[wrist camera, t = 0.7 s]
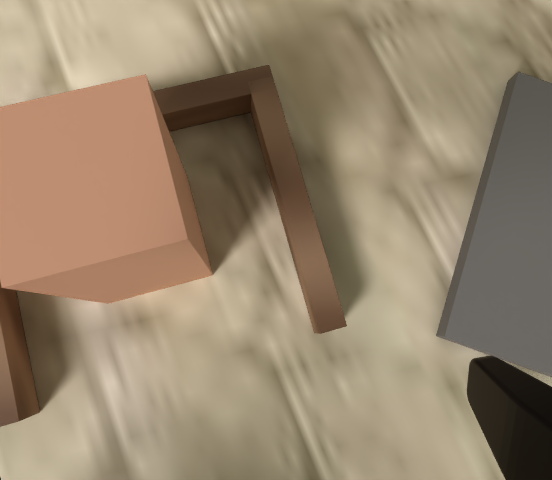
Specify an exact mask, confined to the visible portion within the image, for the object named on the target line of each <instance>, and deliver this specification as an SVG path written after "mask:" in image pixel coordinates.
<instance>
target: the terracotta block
mask: <svg viewBox="0 0 552 480" xmlns="http://www.w3.org/2000/svg"><path fill="white" fill-rule="evenodd" d="M212 275H213V273H212V269H211V266H210V262H209V258H208V254H207V250H206V246H205V243H204V239H203V235H202V231H201V227H200V223H199V220H198V216H197V212H196V208H195V204H194V200H193V197H192V193H191V189H190V185H189V181H188V177H187V175H186V172H185V170H184V167H183V165H182V162H181V160H180V158H179V155H178V153H177V150H176V148H175V145H174V143H173V140H172V138H171V135H170V133H169V130H168V128H167V125H166V123H165V121H164V118H163V116H162V113H161V111H160V108H159V106H158V103H157V101H156V98H155V96H154V93H153V91H152V88H151V86H150V84H149V81H148V79H147V76H146V74H145V75H141V76H136V77H132V78H127V79H123V80H119V81H114V82H110V83H105V84H101V85H96V86H92V87H87V88H83V89H78V90H74V91H70V92H65V93H61V94H56V95H52V96H47V97H43V98H38V99H34V100H29V101H25V102H21V103H16V104H12V105H7V106H3V107H0V282H1V287H2V288H6V289H13V290H20V291H27V292H34V293H40V294H47V295H54V296H61V297H68V298H74V299H81V300H88V301H95V302H102V303H112V302H116V301H119V300H123V299H127V298H130V297H134V296H138V295H141V294H145V293H149V292H153V291H156V290H160V289H164V288H167V287H171V286H175V285H178V284H182V283H186V282H189V281H193V280H197V279H201V278H204V277H208V276H212Z"/></svg>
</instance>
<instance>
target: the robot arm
mask: <svg viewBox="0 0 552 480" xmlns="http://www.w3.org/2000/svg"><path fill="white" fill-rule="evenodd" d="M467 397H468V401H469V403H470V406H471V408H472V410H473V412H474V414H475V416H476V418H477V421H478V423H479V425H480V427H481V429H482V431H483V433H484V436H485V438H486V440H487V442H488V444H489V446H490V448H491V450H492V453H493V455H494V457H495V459H496V461H497V463H498V465H499V467H500V469H501V471H502V473H503V475H504V477H505V479H506V480H552V387H551V386H549V385H547V384H545V383H544V382H542V381H540V380H538V379H536V378H534V377H532V376H530V375H529V374H527V373H525V372H523V371H521V370H519V369H517V368H516V367H514V366H512V365H510V364H508V363H506V362H504V361H502V360H501V359H499V358H497V357H494V356H485V357H479V358H474V359H472V360H471V362H470V365H469V373H468V383H467ZM0 480H1V478H0Z"/></svg>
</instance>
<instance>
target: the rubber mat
mask: <svg viewBox="0 0 552 480" xmlns="http://www.w3.org/2000/svg"><path fill="white" fill-rule="evenodd" d="M436 336H438V337H441V338H443V339H446V340H449V341H452V342H455V343H458V344H460V345H463V346H466V347H469V348H472V349H474V350H477V351H480V352H483V353H486V354H488V355H491V356H494V357H497V358H500V359H502V360H505V361H508V362H511V363H514V364H516V365H519V366H522V367H525V368H528V369H531V370H533V371H536V372H539V373H542V374H545V375H547V376H550V377H552V83H549V82H546V81H543V80H541V79H538V78H535V77H532V76H529V75H526V74H524V73H521V72H518V73H516V74H515V75H514V76H513V77H512V78H511V79H510V80H509V81H508V83H507V87H506V90H505V94H504V97H503V101H502V105H501V108H500V112H499V115H498V119H497V122H496V126H495V129H494V133H493V136H492V140H491V144H490V147H489V151H488V154H487V158H486V161H485V165H484V168H483V172H482V175H481V179H480V183H479V186H478V190H477V193H476V197H475V200H474V204H473V207H472V211H471V214H470V218H469V222H468V225H467V229H466V232H465V236H464V239H463V243H462V246H461V250H460V253H459V257H458V261H457V264H456V268H455V271H454V275H453V278H452V282H451V285H450V289H449V292H448V296H447V299H446V303H445V307H444V310H443V314H442V317H441V321H440V324H439V328H438V331H437V335H436Z"/></svg>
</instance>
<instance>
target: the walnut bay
mask: <svg viewBox="0 0 552 480" xmlns="http://www.w3.org/2000/svg"><path fill="white" fill-rule="evenodd" d="M153 93H154V96H155V98H156V101H157V103H158V106H159V108H160V111H161V113H162V116H163V118H164V121H165V123H166V125H167V128H168V130H169V131H173V130H177V129H182V128H186V127H190V126H194V125H198V124H203V123H207V122H211V121H215V120H219V119H224V118H228V117H232V116H236V115H240V114H245V113H249V112H251V114H252V118H253V121H254V125H255V128H256V132H257V135H258V139H259V142H260V146H261V149H262V153H263V156H264V159H265V163H266V166H267V170H268V173H269V177H270V180H271V184H272V187H273V191H274V194H275V198H276V201H277V205H278V208H279V212H280V215H281V219H282V222H283V226H284V229H285V233H286V236H287V240H288V243H289V247H290V250H291V253H292V257H293V260H294V264H295V267H296V271H297V274H298V278H299V281H300V285H301V288H302V292H303V295H304V299H305V302H306V306H307V309H308V313H309V316H310V320H311V323H312V327H313V330H314V333H319V334H321V333H325V332H328V331H332V330H335V329H338V328H342V327H345V326H347V325H346V321H345V318H344V314H343V311H342V308H341V304H340V301H339V298H338V294H337V291H336V288H335V284H334V281H333V278H332V274H331V271H330V267H329V264H328V261H327V257H326V254H325V251H324V247H323V244H322V241H321V237H320V234H319V231H318V227H317V224H316V220H315V217H314V214H313V210H312V207H311V204H310V200H309V197H308V194H307V190H306V187H305V184H304V180H303V177H302V174H301V170H300V167H299V163H298V160H297V157H296V153H295V150H294V147H293V143H292V140H291V137H290V133H289V130H288V127H287V123H286V120H285V116H284V113H283V110H282V106H281V103H280V100H279V96H278V93H277V90H276V86H275V83H274V80H273V76H272V73H271V69H270V66H269V65H266V66H261V67H257V68H253V69H248V70H244V71H240V72H235V73H231V74H226V75H222V76H218V77H213V78H209V79H205V80H200V81H196V82H192V83H187V84H183V85H178V86H174V87H170V88H165V89H161V90H157V91H153ZM39 412H40V410H39V405H38V400H37V395H36V390H35V385H34V380H33V375H32V370H31V365H30V360H29V355H28V349H27V344H26V339H25V334H24V329H23V324H22V319H21V314H20V309H19V304H18V299H17V294H16V290H13V289H6V288H2V287H1V282H0V427H1V426H4V425H8V424H11V423H15V422H18V421H21V420H23V419H25V418H28V417H30V416H32V415H35V414H37V413H39Z"/></svg>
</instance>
